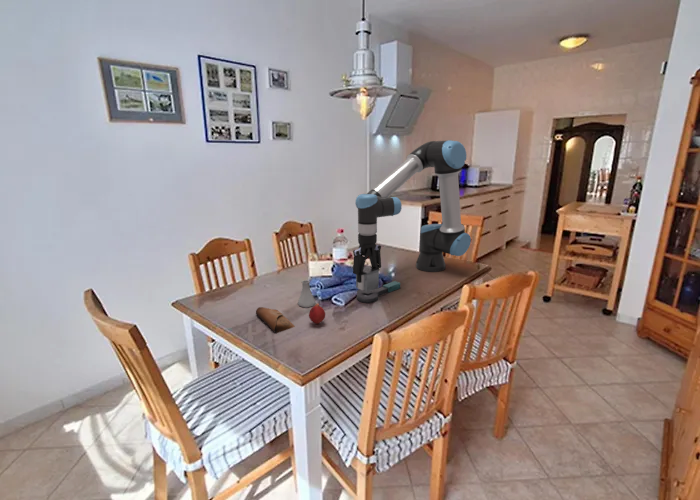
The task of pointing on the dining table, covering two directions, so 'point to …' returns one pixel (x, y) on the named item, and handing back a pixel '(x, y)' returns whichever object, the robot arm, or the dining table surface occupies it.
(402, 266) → the dining table surface
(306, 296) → the flask
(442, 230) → the robot arm
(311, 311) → the onion
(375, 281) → the rounded charcoal cube
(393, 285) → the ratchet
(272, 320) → the sunglasses case
